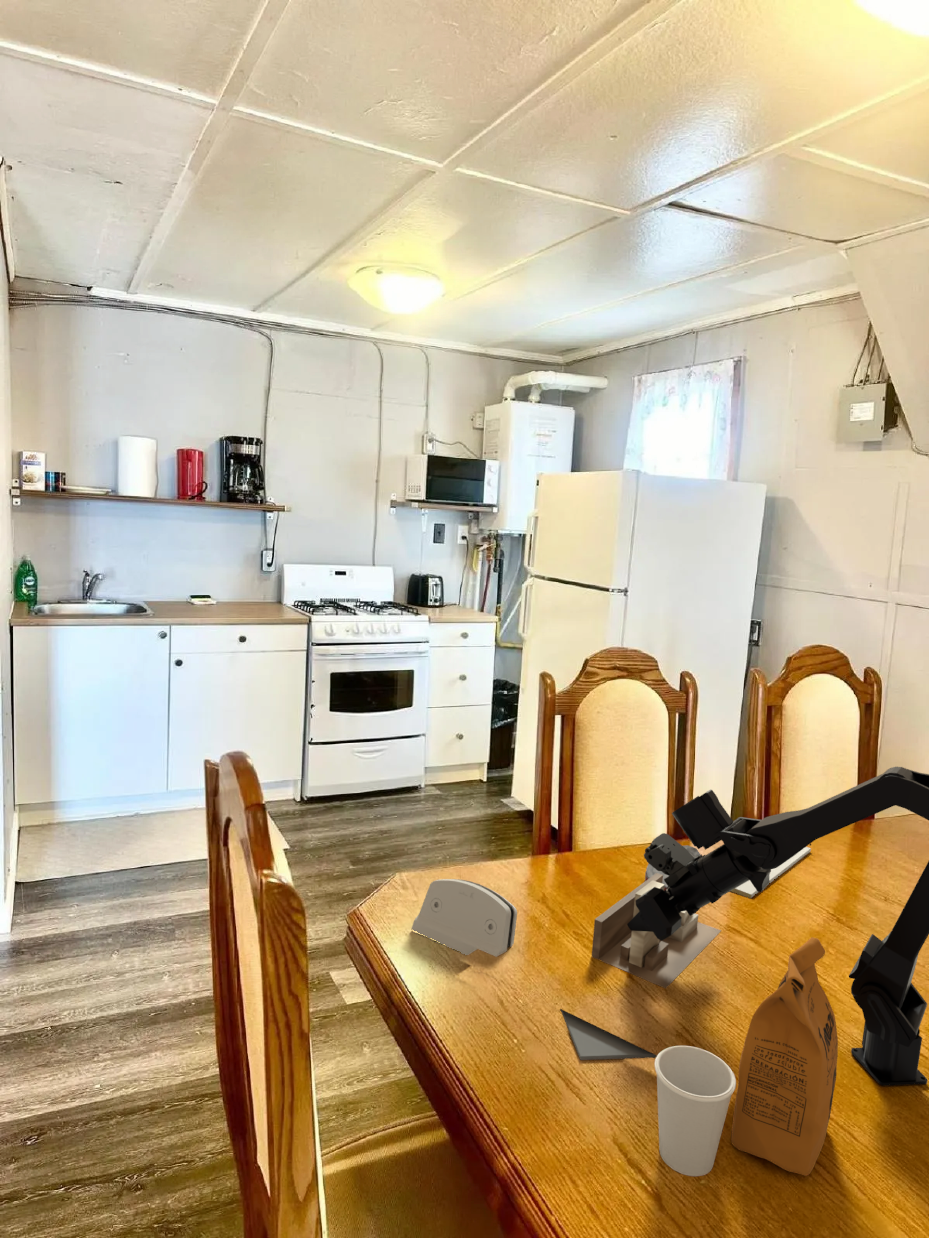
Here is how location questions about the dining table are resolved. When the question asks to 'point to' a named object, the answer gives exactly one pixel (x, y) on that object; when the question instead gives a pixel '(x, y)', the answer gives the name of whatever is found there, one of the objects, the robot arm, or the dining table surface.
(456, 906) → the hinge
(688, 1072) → the dixie cup
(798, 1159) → the coffee package
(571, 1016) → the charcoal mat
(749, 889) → the baseboard molding
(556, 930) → the dining table surface
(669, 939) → the grey desk organizer
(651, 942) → the birch board
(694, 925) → the offcut stack
